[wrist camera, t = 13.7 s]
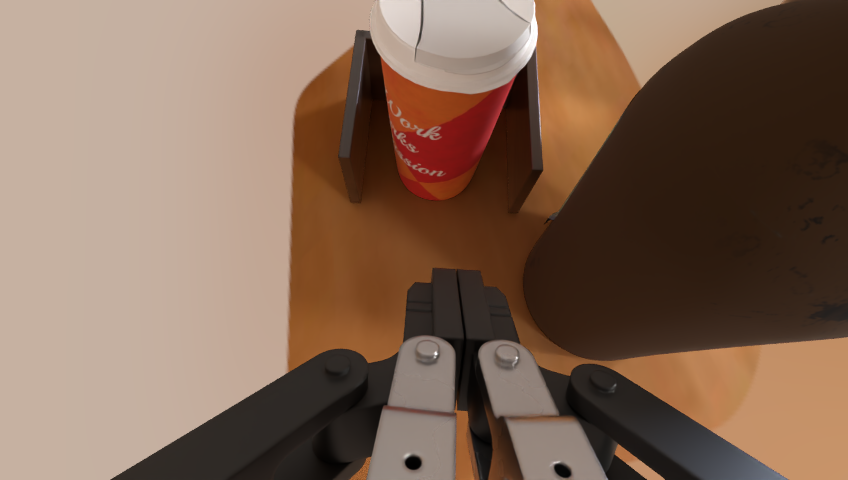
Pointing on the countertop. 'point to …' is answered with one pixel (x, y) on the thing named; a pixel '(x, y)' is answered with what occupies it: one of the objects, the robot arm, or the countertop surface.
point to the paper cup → (448, 82)
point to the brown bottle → (712, 201)
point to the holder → (370, 85)
